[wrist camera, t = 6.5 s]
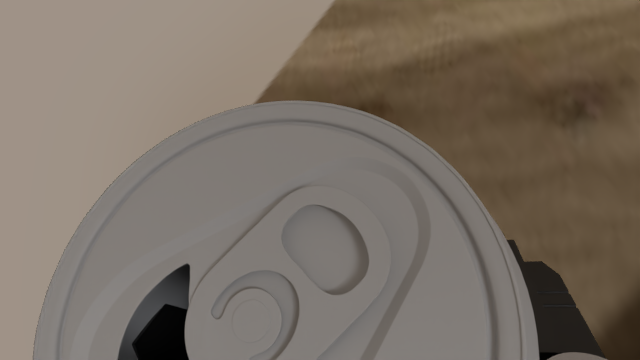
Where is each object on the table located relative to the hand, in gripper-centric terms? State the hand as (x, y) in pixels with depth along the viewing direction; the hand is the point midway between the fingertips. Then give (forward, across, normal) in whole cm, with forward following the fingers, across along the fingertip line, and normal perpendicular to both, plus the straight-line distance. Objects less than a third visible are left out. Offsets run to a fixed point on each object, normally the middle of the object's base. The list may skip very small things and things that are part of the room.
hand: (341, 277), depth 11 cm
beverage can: (+3, 0, +6) cm, 6 cm away
